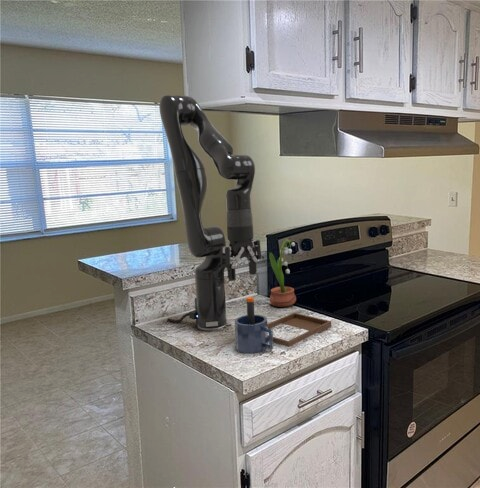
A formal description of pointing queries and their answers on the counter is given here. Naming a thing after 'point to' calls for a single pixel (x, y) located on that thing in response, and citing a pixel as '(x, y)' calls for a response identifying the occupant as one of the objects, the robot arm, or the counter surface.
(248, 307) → the marker
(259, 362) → the counter surface
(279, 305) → the potted flower
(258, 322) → the mug
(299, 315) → the tray
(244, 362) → the counter surface
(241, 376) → the counter surface
